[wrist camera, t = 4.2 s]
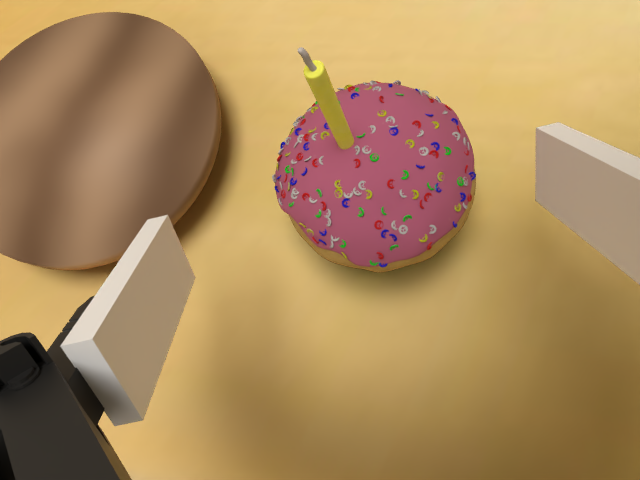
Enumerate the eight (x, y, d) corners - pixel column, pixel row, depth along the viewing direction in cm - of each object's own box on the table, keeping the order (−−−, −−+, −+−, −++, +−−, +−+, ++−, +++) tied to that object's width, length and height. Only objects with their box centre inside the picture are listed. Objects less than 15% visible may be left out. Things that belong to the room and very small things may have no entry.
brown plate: (255, 54, 27) (241, 17, 24) (201, 295, 23) (176, 286, 20) (41, 41, 29) (5, 7, 26) (-38, 258, 26) (-90, 245, 23)
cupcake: (277, 264, 23) (180, 172, 12) (318, 123, 25) (269, -75, 14) (441, 303, 22) (512, 241, 10) (471, 150, 24) (560, -50, 12)
